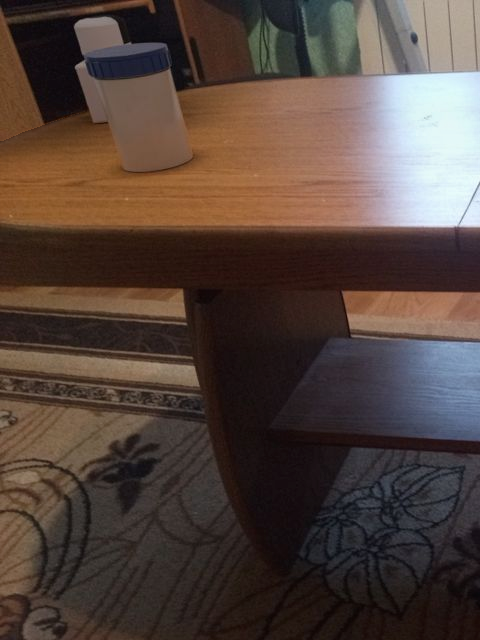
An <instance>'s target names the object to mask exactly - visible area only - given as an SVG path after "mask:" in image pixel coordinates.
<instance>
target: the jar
mask: <svg viewBox="0 0 480 640" xmlns="http://www.w3.org/2000/svg"><path fill="white" fill-rule="evenodd" d="M94 80H95V84H96V87H97V90H98V93H99V96H100V99H101V102H102V105H103V109H104V112H105V115H106V118H107V121H108V122H107V124H108V128H109V130H110V133H111V136H112V140H113V142H114V146H115V149H116V153H117V156H118V158H119V162H120V164H121V168H122V169H123V170H124V171H126V172H131V173H147V172H148V173H149V172H157V171H163V170H168V169H171V168H175V167H178V166H181V165H184V164H186V163H188V162H190V161H192V159H193V158H194V152H193V148H192V145H191V141H190V138H189V134H188V129H187V126H186V122H185V117H184V114H183V111H182V107H181V103H180V99H179V95H178V92H177V88H176V85H175V81H174V77H173V73H172V69H171V66H170V67H169V68H167V69H164V70H161V71H157V72H153V73H149V74H144V75H138V76H131V77H122V78H94Z"/></svg>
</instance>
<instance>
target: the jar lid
mask: <svg viewBox="0 0 480 640" xmlns="http://www.w3.org/2000/svg"><path fill="white" fill-rule="evenodd" d="M83 58H84V60H85V64H86V67H87V70H88V73H89V75H90V76H91V77H94V78H122V77H131V76H138V75H144V74H149V73H153V72H157V71H161V70H164V69H167V68H169V67H170V68H171V67H172V65H173V60H172V56H171V52H170V49H169V48H168V44H167V43H165V42H164V43H163V42H141V43H140V42H139V43H131V44H128V45H120V46H113V47H108V48H103V49H98V50H94V51H91V52H88V53H86V54H84V55H83Z"/></svg>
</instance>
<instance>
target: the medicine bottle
mask: <svg viewBox="0 0 480 640" xmlns="http://www.w3.org/2000/svg"><path fill="white" fill-rule="evenodd" d="M72 27H73V30H74V33H75V36H76V39H77V42H78V45H79V49H80V52H81V55H82V56H84V54H86V53H88V52H91V51H94V50H98V49H103V48H108V47H113V46H120V45H128V44H132V41H131V38H130V34H129V31H128V27H127V24H126V20H125V19H124V18H123V17H121V16H118V15H113V14H105V15H95V16H94V15H93V16H89V17H84V18H81V19H78V20H77V21H75V22H74V24H73V26H72ZM74 70H75V74H76V76H77V79H78V82H79V85H80V88H81V91H82V94H83V98H84V100H85V103H86V106H87V109H88V112H89V115H90V119H91V121H92V123H93V124H104V123H108V121H107V118H106V115H105V112H104V109H103V105H102V102H101V99H100V96H99V93H98V90H97V87H96V84H95V80H94V77H91V76H90V75H89V73H88V70H87V67H86V64H85V59H84V60H82V61H81V62H79V63H78V64H76V65H75V66H74Z"/></svg>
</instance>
